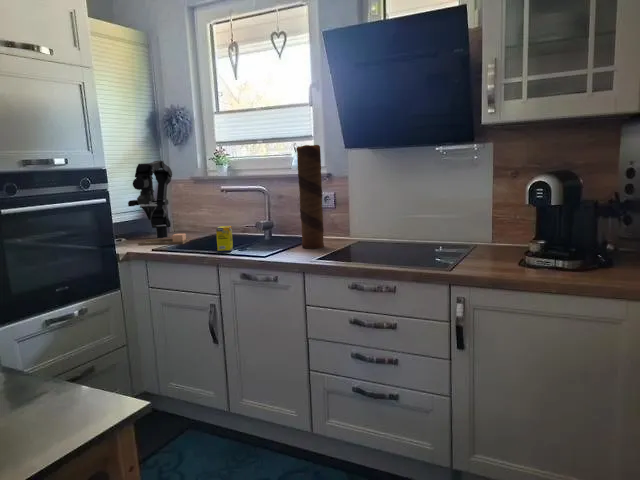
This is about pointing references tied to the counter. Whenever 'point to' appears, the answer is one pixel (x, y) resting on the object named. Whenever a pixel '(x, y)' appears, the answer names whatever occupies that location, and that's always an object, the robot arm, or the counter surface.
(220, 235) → the supplement box
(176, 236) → the terracotta block
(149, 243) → the trap lane
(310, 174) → the wafer roll
